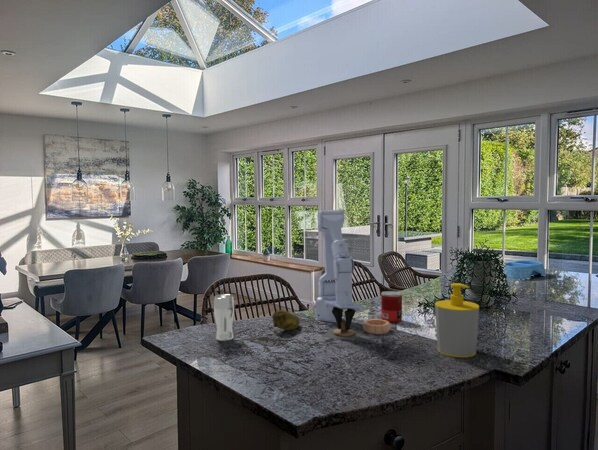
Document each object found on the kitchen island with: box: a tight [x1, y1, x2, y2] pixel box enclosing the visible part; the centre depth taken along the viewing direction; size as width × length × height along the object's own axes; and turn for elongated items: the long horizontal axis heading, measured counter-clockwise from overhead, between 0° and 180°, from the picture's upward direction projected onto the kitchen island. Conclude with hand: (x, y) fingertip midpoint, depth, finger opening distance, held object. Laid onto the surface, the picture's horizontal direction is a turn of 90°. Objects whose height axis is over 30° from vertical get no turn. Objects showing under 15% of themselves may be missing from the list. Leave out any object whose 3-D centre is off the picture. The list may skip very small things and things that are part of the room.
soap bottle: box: [434, 282, 480, 358], centre depth 135 cm, size 13×13×21 cm
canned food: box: [380, 290, 403, 324], centre depth 170 cm, size 8×8×11 cm
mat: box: [321, 326, 367, 342], centre depth 153 cm, size 12×12×1 cm
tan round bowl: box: [362, 318, 391, 335], centre depth 157 cm, size 9×9×3 cm
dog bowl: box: [504, 260, 547, 280], centre depth 264 cm, size 34×19×8 cm, turn 121°
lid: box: [333, 319, 355, 337], centre depth 153 cm, size 8×8×4 cm
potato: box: [271, 309, 300, 331], centre depth 160 cm, size 8×13×8 cm, turn 127°
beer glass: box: [213, 293, 235, 342], centre depth 151 cm, size 7×7×15 cm
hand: (344, 329), depth 153 cm, fingers closed on lid, 2 cm apart
